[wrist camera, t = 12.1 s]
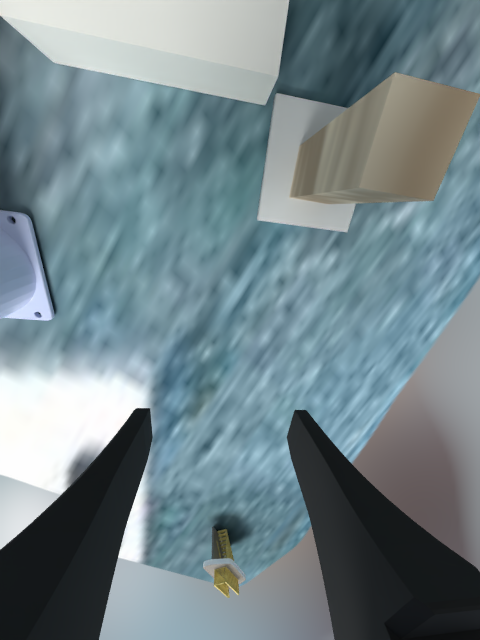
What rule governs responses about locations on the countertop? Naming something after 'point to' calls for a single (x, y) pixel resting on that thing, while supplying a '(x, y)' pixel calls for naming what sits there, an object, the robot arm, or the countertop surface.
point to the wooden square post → (385, 145)
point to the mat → (282, 150)
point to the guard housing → (163, 40)
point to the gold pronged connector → (223, 564)
